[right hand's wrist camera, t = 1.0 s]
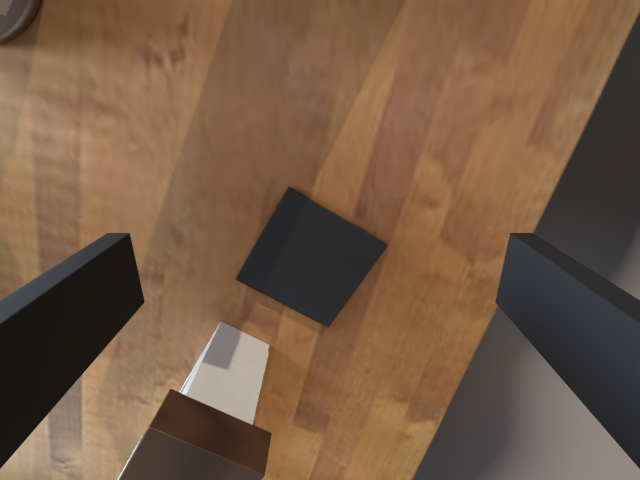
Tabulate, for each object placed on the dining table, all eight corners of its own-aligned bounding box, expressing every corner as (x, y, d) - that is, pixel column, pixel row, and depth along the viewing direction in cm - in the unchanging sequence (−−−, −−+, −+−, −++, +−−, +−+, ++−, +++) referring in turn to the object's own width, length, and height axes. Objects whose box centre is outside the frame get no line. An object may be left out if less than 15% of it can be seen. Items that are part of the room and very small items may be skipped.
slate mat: (236, 278, 42) (235, 279, 42) (288, 186, 38) (288, 187, 38) (328, 325, 45) (328, 327, 44) (387, 244, 40) (387, 245, 40)
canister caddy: (199, 468, 54) (159, 583, 41) (137, 443, 52) (75, 555, 39) (281, 346, 46) (264, 443, 33) (211, 312, 44) (164, 399, 31)
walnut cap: (130, 457, 34) (106, 501, 30) (170, 388, 31) (148, 427, 27) (225, 495, 35) (213, 541, 32) (271, 432, 32) (264, 475, 29)
